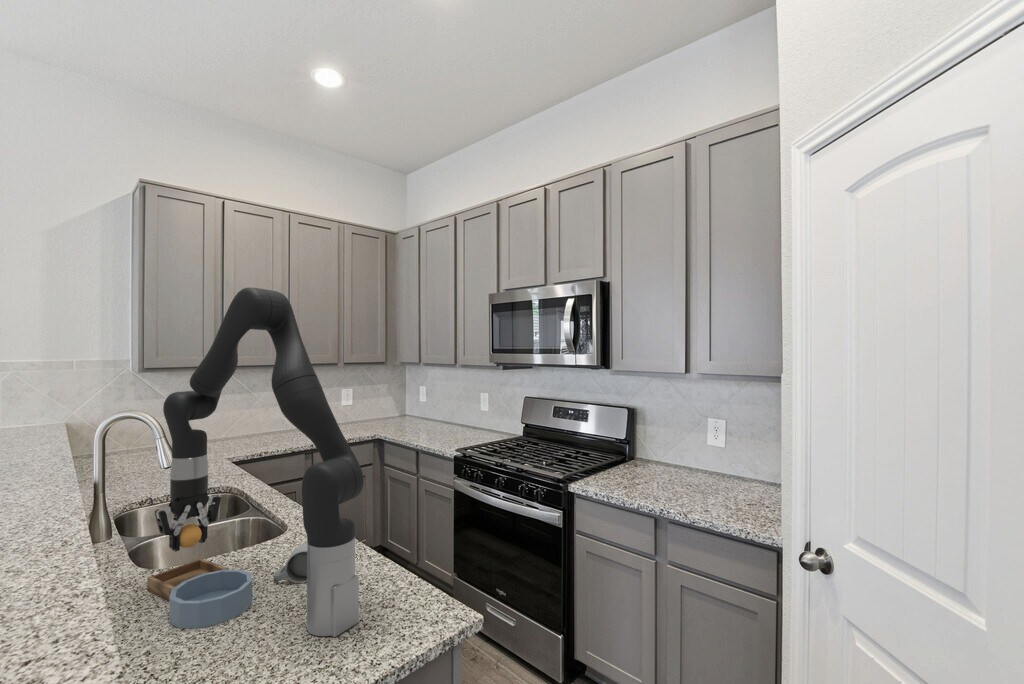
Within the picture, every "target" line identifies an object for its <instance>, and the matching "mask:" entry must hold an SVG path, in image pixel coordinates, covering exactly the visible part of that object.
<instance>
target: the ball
mask: <svg viewBox="0 0 1024 684" xmlns="http://www.w3.org/2000/svg"><path fill="white" fill-rule="evenodd" d="M198 526H199V525H197V524H194V523H193V524H192V523H189V524H184V525H182V527H181V529H180V532H179V535H180V547H181V548H191V547H194V546H195V545H197V544H198V543H200V542H199V540H200V538H201V535H202V532H201V529H200V528H199V527H198Z"/></svg>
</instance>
